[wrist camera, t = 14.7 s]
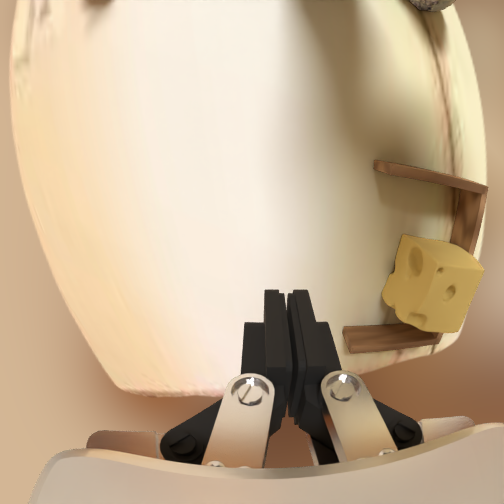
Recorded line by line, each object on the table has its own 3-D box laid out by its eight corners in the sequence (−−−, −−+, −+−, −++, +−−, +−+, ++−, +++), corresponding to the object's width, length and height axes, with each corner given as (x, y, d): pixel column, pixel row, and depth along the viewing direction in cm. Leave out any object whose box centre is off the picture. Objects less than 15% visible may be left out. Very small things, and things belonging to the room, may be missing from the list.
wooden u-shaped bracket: (374, 159, 31) (391, 164, 26) (467, 179, 31) (488, 186, 26) (342, 332, 41) (350, 353, 37) (426, 326, 41) (438, 343, 36)
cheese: (379, 295, 38) (405, 336, 29) (401, 228, 34) (439, 258, 25) (428, 298, 39) (458, 334, 30) (451, 238, 35) (489, 267, 25)
